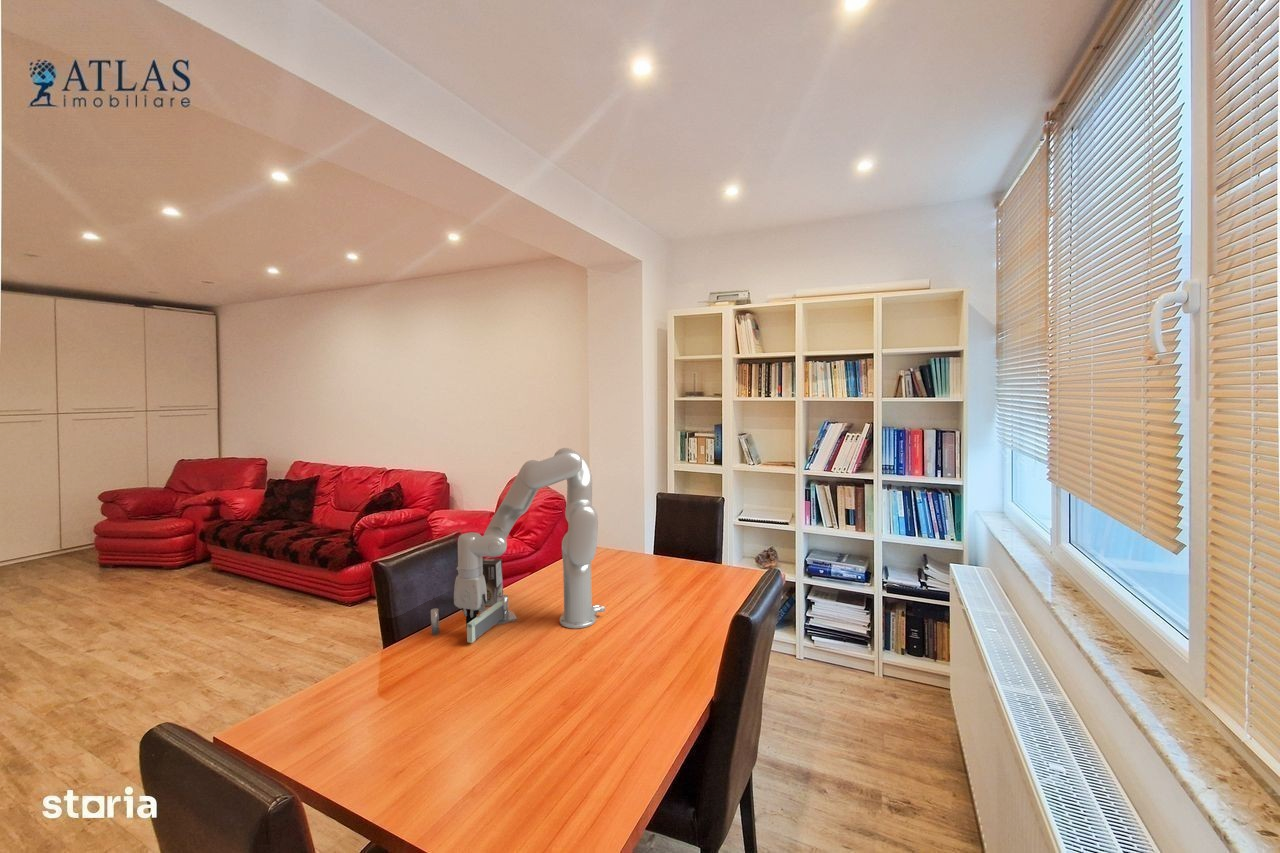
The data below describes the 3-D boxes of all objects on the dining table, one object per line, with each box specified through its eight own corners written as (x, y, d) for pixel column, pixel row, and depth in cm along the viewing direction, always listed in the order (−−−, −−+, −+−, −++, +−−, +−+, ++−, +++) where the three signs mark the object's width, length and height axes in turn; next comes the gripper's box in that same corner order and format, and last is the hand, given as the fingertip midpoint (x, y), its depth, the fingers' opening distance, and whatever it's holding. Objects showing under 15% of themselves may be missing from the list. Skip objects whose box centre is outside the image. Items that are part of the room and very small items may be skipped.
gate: (499, 617, 173) (498, 601, 172) (503, 618, 172) (503, 601, 172) (467, 642, 155) (466, 624, 155) (472, 642, 155) (471, 624, 155)
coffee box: (503, 599, 191) (502, 558, 190) (497, 606, 185) (496, 564, 184) (481, 599, 192) (479, 558, 191) (473, 606, 186) (472, 563, 185)
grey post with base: (512, 613, 179) (511, 591, 179) (517, 620, 173) (516, 598, 172) (492, 617, 176) (491, 595, 175) (496, 625, 170) (495, 602, 169)
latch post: (438, 631, 166) (438, 607, 165) (439, 634, 163) (438, 610, 163) (431, 633, 164) (430, 609, 164) (431, 636, 162) (431, 612, 162)
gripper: (443, 572, 160) (445, 628, 161) (481, 578, 155) (482, 636, 156) (460, 565, 167) (461, 619, 168) (497, 571, 162) (497, 626, 163)
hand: (471, 627), depth 162 cm, fingers closed
